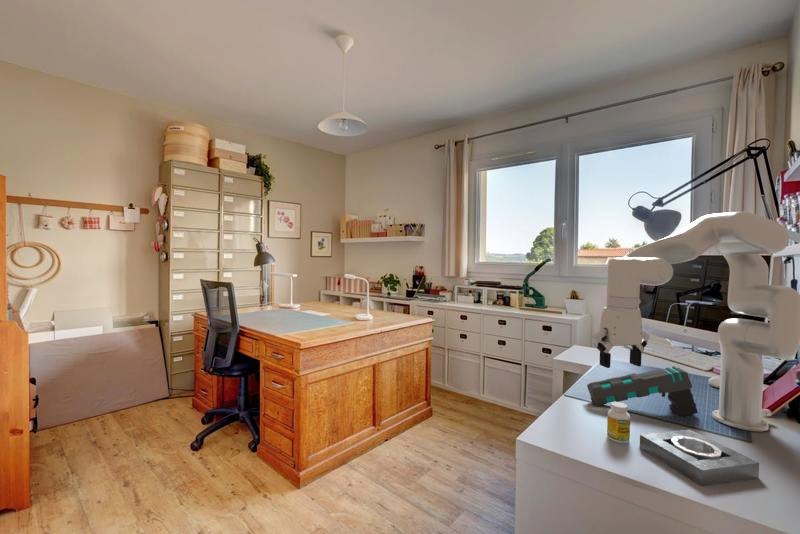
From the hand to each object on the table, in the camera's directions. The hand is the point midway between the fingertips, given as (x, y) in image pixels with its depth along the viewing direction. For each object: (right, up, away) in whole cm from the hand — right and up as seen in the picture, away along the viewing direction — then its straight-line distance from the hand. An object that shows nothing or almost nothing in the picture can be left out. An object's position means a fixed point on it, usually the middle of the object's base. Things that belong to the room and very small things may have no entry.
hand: (620, 365), depth 99 cm
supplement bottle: (0, -21, +1) cm, 21 cm away
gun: (+19, -20, +21) cm, 35 cm away
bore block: (+12, -21, -10) cm, 26 cm away
